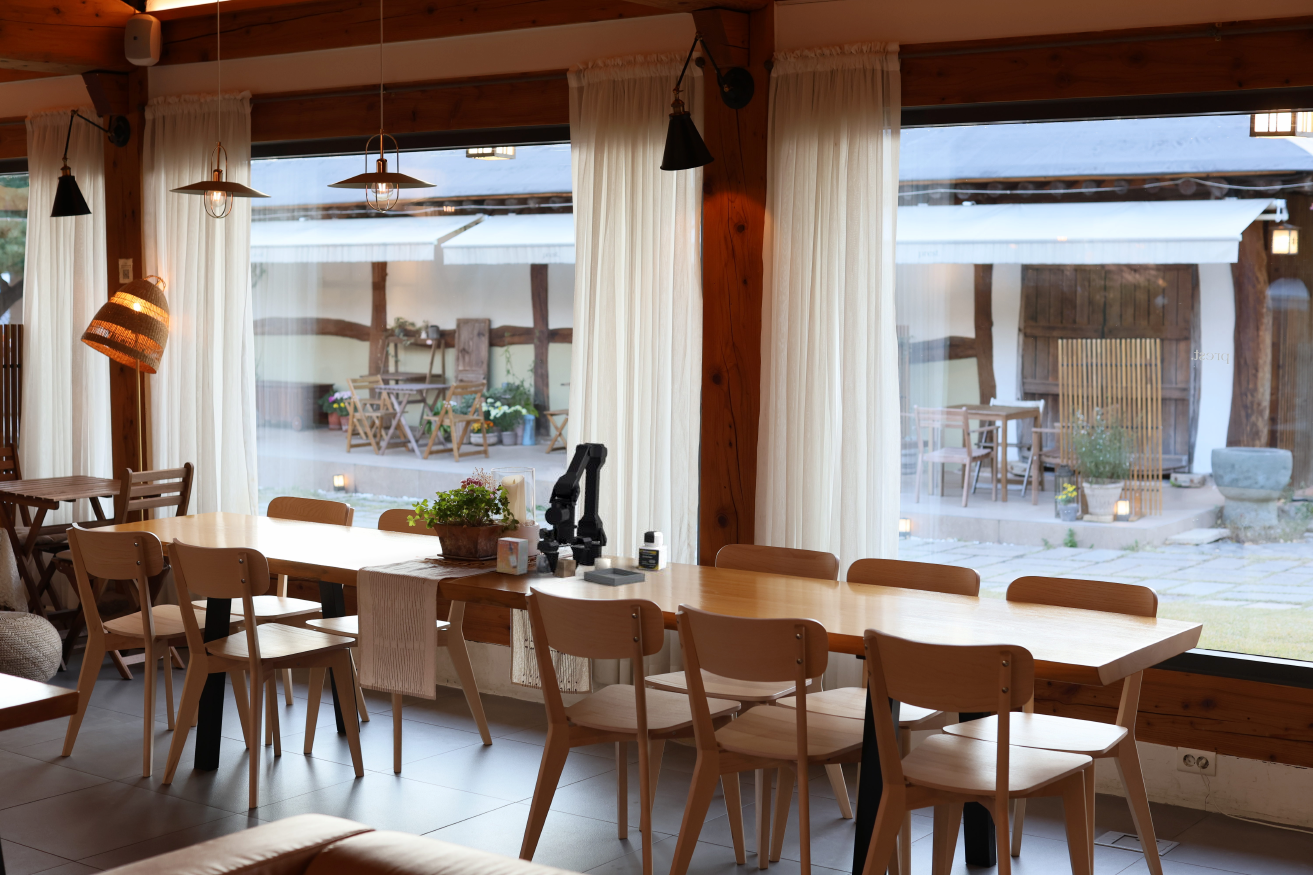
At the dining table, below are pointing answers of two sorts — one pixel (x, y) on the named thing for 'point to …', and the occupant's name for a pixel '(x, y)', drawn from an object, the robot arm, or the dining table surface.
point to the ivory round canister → (602, 563)
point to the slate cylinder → (542, 564)
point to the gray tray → (614, 576)
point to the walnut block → (565, 568)
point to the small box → (512, 555)
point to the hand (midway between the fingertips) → (564, 571)
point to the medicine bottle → (652, 552)
